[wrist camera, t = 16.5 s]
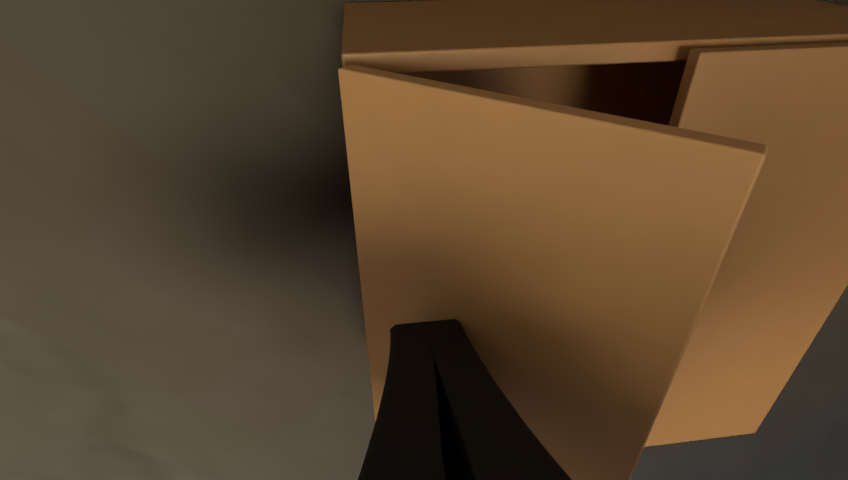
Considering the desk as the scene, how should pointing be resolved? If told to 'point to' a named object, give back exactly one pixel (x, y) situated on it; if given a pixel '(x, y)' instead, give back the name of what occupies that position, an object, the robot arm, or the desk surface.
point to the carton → (689, 109)
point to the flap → (541, 247)
